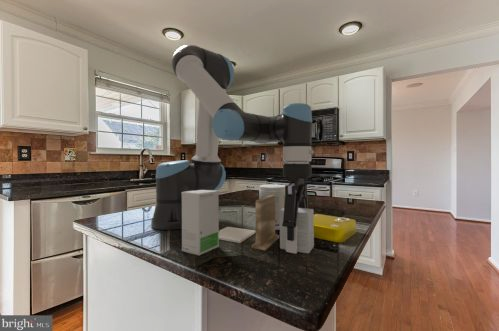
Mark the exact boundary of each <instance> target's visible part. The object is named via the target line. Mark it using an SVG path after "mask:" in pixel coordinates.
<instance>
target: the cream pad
mask: <svg viewBox="0 0 499 331" xmlns="http://www.w3.org/2000/svg"><path fill="white" fill-rule="evenodd" d="M253 235H256V229H255V230H254V229H253V230H252V229H247V228H241V227H240V228H239V227H233V226H226V227H224V228H222V229H219V241H220V240H221V241H226V242H233V243H237V244H242V243H243V242H244V241H246V240H247V239H249V238H250V237H253Z"/></svg>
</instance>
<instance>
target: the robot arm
mask: <svg viewBox="0 0 499 331" xmlns="http://www.w3.org/2000/svg"><path fill="white" fill-rule="evenodd" d="M171 67H172V70H173V73H174V74H175V77H177V79H178V80H179V81H180V82H182V83H184V84H186V85H187V86H188V88H189V89H190V90H191V92H192V93H193V94H194V95H195V98H197V100H198V115H197V116H198V117H197V127H196V128H197V129H196V130H197V131H196V132H197V133H196V145H195V146H196V147H195V155H193V157H191V162H190V160H186V159H185V160H184V159H183V160H173V161H172V160H171V161H165V162H161V163H158V165H157V166H156V168H155V185H156V186H155V196H156V197H155V198H156V199H155V201H156V202H155V203H156V205H155V208H154V212H153V216H152V218H151V221H150V225H151V228H153V229H155V230H162V231H171V230H172V231H174V230H182V194H181V193H182V192H186V191H196V190H215V191H219V190H220V189H221V188H222V187H223V186H224V184H225V182H226V181H225V180H226V175H227V174H226V173H227V171H226V170H225V166H224V165H223V164H221V161H222V160H221V159H220V158H219V156H218V154H219V153H218V151H219V142H220V141H219V140H220V139H221V140H227V141H231V142H233V141H239V142H241V141H242V142H254V143H256V144H263V145H264V144H265V145H266V144H269V143H280V142H281V143H282V161H283V162H284V163H283V165H282V176H283V177H284V178H286V179H289V183H288V185H285V204H284V217H283V223H282V226H284V227H286V250H285V252H286V253H290V254H298V252H297V227H296V222H297V214H298V208H306V209H309V202H308V201H309V197H308V181H305V179H310V178H312V175H313V174H312V170H313V169H312V167H313V166H312V164H311V163H310V162H312V155H313V154H314V153H315V151H314V150H313V149H312V136H313V135H312V132H313V129H312V128H313V117H312V116H313V114H312V107H311V105H309V104H307V103H301V102H299V103H298V102H297V103H295V102H294V103H288V104H287V105H285V106H283V108H282V114H280V115H274V116H266V115H260V114H255V113H250V112H246V111H243V109H242V108H241V107H240V106H239V105H238V104H237V103H236V102H235V101H234V100H233V98H231V97H230V95H229V94H228V93H227V89H228V88H230V86H231V85H232V82H233V81H234V77H235V69H234V65H233V63H232V62H231V59H229V58H228V57H226V56H224V55H222V54H221V53H217V52H214V51H211V50H208V49H206V48H202V47H200V46H198V45H193V44H186V45H185V44H184V45H182V46H180V47H179V48H177V49H176V51H174V53H173V55H172V59H171ZM289 221H291V222H289Z"/></svg>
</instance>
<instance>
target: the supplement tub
mask: <svg viewBox="0 0 499 331" xmlns="http://www.w3.org/2000/svg"><path fill="white" fill-rule="evenodd" d="M285 186H286V185H285V184H274V183H273V184H271V183H269V184H261V185H259V190H258V191H259V192H258V193H259V194H258V198H259V199H261V198H264V197H266V196H269V195H275V231H280V210H281V209H283V208H284V204H285Z"/></svg>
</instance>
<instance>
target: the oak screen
mask: <svg viewBox="0 0 499 331" xmlns="http://www.w3.org/2000/svg"><path fill="white" fill-rule="evenodd" d="M255 231H256V233H255V242H253V243H252V244H251V247H250V248H251V249H256V250H262V251H266V250H268V248H270V247H271V246H272V245H273V244H275V242H276V241H278V239H279V240H280V234H279V235H278V234H276V230H275V195H269V196H266V197H264V198H261V199H256V200H255Z"/></svg>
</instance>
